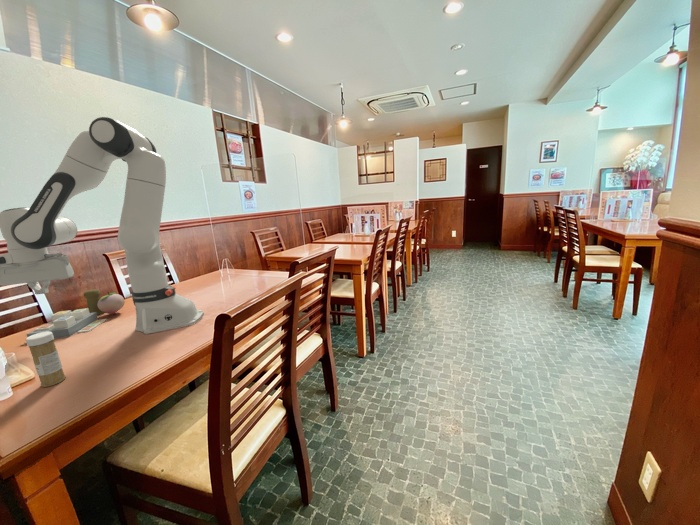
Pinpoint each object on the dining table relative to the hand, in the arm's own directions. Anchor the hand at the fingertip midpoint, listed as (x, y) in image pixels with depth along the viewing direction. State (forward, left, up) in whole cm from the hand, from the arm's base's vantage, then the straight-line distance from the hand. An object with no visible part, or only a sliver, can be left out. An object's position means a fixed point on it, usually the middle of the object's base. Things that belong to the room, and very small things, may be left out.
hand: (42, 293), depth 98 cm
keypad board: (-2, -3, -16) cm, 16 cm away
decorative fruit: (-12, -15, -16) cm, 25 cm away
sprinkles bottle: (-24, +37, -16) cm, 47 cm away
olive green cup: (-4, -18, -16) cm, 24 cm away
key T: (+1, +1, -16) cm, 16 cm away
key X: (-5, +1, -13) cm, 14 cm away
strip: (-10, -3, -16) cm, 19 cm away
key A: (+1, -7, -14) cm, 15 cm away
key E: (-5, -7, -14) cm, 16 cm away
